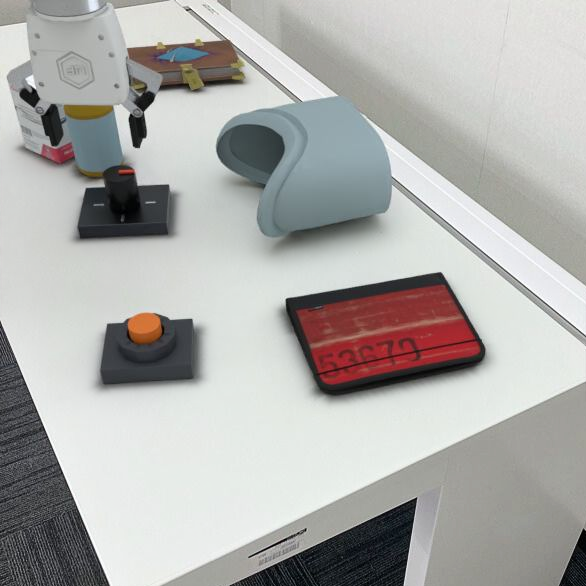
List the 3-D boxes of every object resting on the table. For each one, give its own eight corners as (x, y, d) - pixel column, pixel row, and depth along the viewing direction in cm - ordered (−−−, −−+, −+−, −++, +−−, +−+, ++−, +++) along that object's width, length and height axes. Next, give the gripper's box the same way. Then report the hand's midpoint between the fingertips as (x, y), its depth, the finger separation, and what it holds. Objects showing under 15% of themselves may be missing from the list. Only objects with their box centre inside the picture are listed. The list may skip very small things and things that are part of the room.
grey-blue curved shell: (389, 231, 113) (395, 150, 104) (262, 260, 107) (256, 176, 99) (332, 158, 128) (333, 81, 119) (217, 179, 122) (209, 101, 113)
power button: (128, 345, 89) (126, 334, 88) (131, 324, 92) (128, 313, 90) (161, 343, 89) (159, 332, 88) (162, 322, 92) (160, 311, 91)
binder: (284, 295, 98) (441, 268, 103) (285, 309, 100) (439, 282, 105) (320, 389, 87) (493, 353, 93) (320, 403, 89) (490, 367, 94)
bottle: (82, 182, 120) (60, 88, 110) (74, 161, 125) (52, 68, 115) (128, 174, 122) (111, 80, 112) (119, 153, 127) (101, 61, 117)
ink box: (84, 152, 127) (68, 81, 119) (59, 165, 124) (41, 93, 116) (48, 136, 130) (31, 66, 122) (23, 148, 127) (4, 77, 119)
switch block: (103, 384, 89) (96, 358, 87) (110, 337, 95) (104, 311, 92) (193, 378, 91) (189, 352, 88) (194, 331, 96) (190, 306, 94)
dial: (107, 213, 111) (100, 180, 107) (110, 196, 114) (103, 163, 110) (139, 211, 111) (133, 178, 108) (141, 195, 114) (135, 162, 111)
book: (104, 67, 152) (99, 40, 149) (233, 56, 157) (231, 30, 154) (108, 100, 140) (103, 72, 137) (247, 87, 145) (245, 60, 142)
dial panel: (80, 238, 110) (76, 225, 108) (88, 199, 117) (85, 186, 116) (168, 234, 111) (166, 221, 110) (170, 195, 118) (169, 183, 117)
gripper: (-27, 5, 81) (16, 156, 92) (144, 10, 81) (165, 159, 93) (-4, -20, 86) (34, 125, 98) (156, -16, 87) (175, 128, 98)
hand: (98, 141), depth 95 cm, fingers open, 9 cm apart
